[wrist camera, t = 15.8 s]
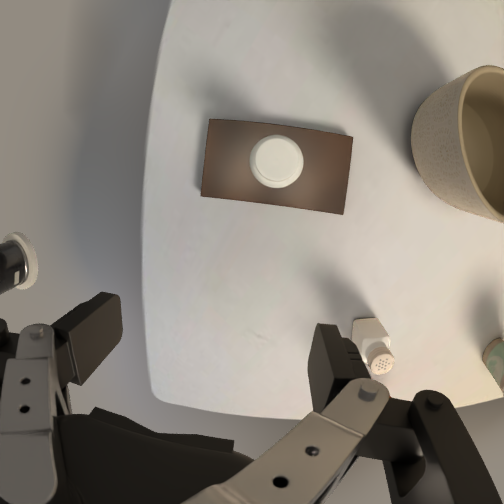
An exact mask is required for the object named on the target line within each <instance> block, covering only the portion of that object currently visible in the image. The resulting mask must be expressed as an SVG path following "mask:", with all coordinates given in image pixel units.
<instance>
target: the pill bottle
mask: <svg viewBox="0 0 504 504" xmlns="http://www.w3.org/2000/svg"><path fill="white" fill-rule="evenodd" d="M250 168H251V171H252V173H253V175H254V176H255V178H256V179H257V180H258V181H259V182H260V183H262V184H263V185H265V186H268V187H271V188H283V187H286V186H288V185H290V184H291V183H293V182H294V181H295V180H296V179H297V178H298V177H299V176H300V174H301V172H302V169H303V155H302V152H301V150H300V148H299V146H298V145H297V144H296V143H295V142H294V141H293V140H291V139H290V138H288V137H285V136H281V135H271V136H267V137H265V138H263V139H261V140H260V141H259V142H258V143H257V144H256V145H255V146H254V147H253V149H252V151H251V155H250Z"/></svg>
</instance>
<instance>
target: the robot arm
mask: <svg viewBox="0 0 504 504" xmlns="http://www.w3.org/2000/svg"><path fill="white" fill-rule="evenodd" d="M28 275H29V264H28V259H27V256H26V253H25V251H24V249H23V247H22V246H21V245H20V244H19V243H18V242H17V241H15V240H9V241H6V242H5V243H2V244H0V294H2V293H4V292H6V291H8V290H10V289H12V288H14V287H16V286H18V285H21V284H23V283H25V282H26V280H27V278H28ZM122 332H123V327H122V315H121V301H120V297H119V296H118V295H116V294H111V293H106V292H100V293H99V294H97V295H96V296H95V297H93V298H92V299H91V300H89V301H87V302H84V303H81V304H79V305H78V306H76V307H75V308H74V309H73V310H71V311H69V312H68V313H67V314H65V315H64V316H63V317H61V318H60V319H58V320H57V321H56V322H54V323H53V324H52V325H50V326H49V325H46V324H33V325H29V326H27V327H25V328H24V329H23V330H22V331H21V332H20V334H17V333H10V332H9V331H8V327H7V323H6V321H5V320H3V319H1V318H0V504H324V503H325V502H326V500H327V499H328V498H329V496H330V495H331V494H332V492H333V491H334V490H335V489H336V487H337V486H338V485H339V483H340V482H341V481H342V479H343V478H344V477H345V476H346V474H347V473H348V472H349V470H350V469H351V468H352V466H353V465H354V463H355V462H356V461H357V459H358V457H359V456H362V457H367V458H372V459H378V460H382V461H383V465H384V470H385V474H386V479H387V483H388V488H389V492H390V498H391V503H392V504H503V503H502V501H501V498H500V496H499V494H498V492H497V489H496V487H495V485H494V483H493V481H492V478H491V476H490V474H489V472H488V470H487V468H486V466H485V464H484V462H483V460H482V458H481V456H480V454H479V452H478V450H477V448H476V446H475V444H474V442H473V441H472V438H471V437H470V435H469V433H468V431H467V429H466V427H465V426H464V424H463V422H462V420H461V418H460V417H459V415H458V413H457V412H456V410H455V408H454V406H453V405H452V403H451V401H450V400H449V399H448V398H447V397H446V396H445V395H443V394H442V393H440V392H437V391H433V390H423V391H420V392H418V393H417V394H416V395H415V397H414V399H413V401H412V402H411V401H405V400H400V399H395V398H391V397H390V394H389V391H388V389H387V388H386V387H385V386H384V385H383V384H381V383H380V382H378V381H375V380H373V379H371V377H370V375H369V372H368V370H367V368H366V366H365V363H364V361H362V357H361V355H360V352H359V350H358V348H357V346H356V344H354V343H353V342H352V341H351V340H350V339H349V338H342V337H341V335H340V332H339V330H338V327H337V325H331V324H319V323H318V324H317V325H316V328H315V332H314V337H313V341H312V346H311V350H310V355H309V359H308V377H309V384H310V390H311V397H312V404H313V411H312V412H310V413H309V414H308V415H307V416H306V417H305V418H304V419H302V420H301V421H300V422H299V423H298V424H297V425H296V426H295V427H294V428H293V429H291V430H290V431H289V432H288V433H287V434H286V435H285V436H284V437H282V438H281V439H280V440H279V441H278V442H276V443H275V444H274V445H273V446H272V447H270V448H269V449H268V450H267V451H266V452H264V453H263V454H262V455H261V456H259V457H258V458H257V459H256V460H254V459H251V458H250V457H248V456H246V455H243V454H241V453H239V452H236V451H233V447H234V440H228V439H221V438H215V437H209V436H203V435H197V434H167V433H157V432H154V431H151V430H150V429H148V428H146V427H143V426H142V425H140V424H138V423H136V422H134V421H132V420H130V419H129V418H127V417H124V416H122V415H118V414H115V413H112V412H109V411H106V410H103V409H100V408H97V407H95V408H94V409H93V410H92V412H91V413H90V414H89V415H85V414H72V409H71V403H70V395H69V389H68V386H67V384H68V383H69V382H72V383H75V384H77V385H80V386H82V384H83V383H84V382H85V381H86V380H87V379H88V378H89V376H90V375H91V374H92V373H93V372H94V371H95V369H96V368H97V367H98V366H99V365H100V364H101V362H102V361H103V360H104V359H105V358H106V357H107V356H108V354H109V353H110V352H111V351H112V350H113V349H114V348H115V346H116V345H117V344H118V343H119V342H120V340H121V337H122Z"/></svg>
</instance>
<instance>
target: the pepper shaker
mask: <svg viewBox="0 0 504 504" xmlns="http://www.w3.org/2000/svg"><path fill="white" fill-rule="evenodd" d="M351 341H352V342H353V343H354V344H356V346H357V348H358V350H359V352H360V355H361V357H362V361H364V363H368V365H369V367H370V369H371V371H372V372H373V373H374V374H380V375H381V374H384V373H386V372H388V371H389V370H390V369H391V368H392V366H393V364H394V357H393V355H392V353H391V352H390V350H389V347H390V337H389V335H388V333H387V332H386V330H385V329H384V327H383V326H382V324H381V323H380V321H379V320H378V319H377V318H367V319H356V320H354V322H353V329H352V339H351Z"/></svg>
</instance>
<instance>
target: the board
mask: <svg viewBox="0 0 504 504" xmlns="http://www.w3.org/2000/svg"><path fill="white" fill-rule="evenodd" d="M271 135H281V136H285V137H288V138H290V139H291V140H293V141H294V142H295V143H296V144H297V145H298V146H299V148H300V150H301V152H302V155H303V169H302V172H301V174H300V176H299V177H298V178H297V179H296V180H295V181H294V182H293V183H291V184H290V185H288V186H286V187H283V188H271V187H268V186H265V185H263V184H262V183H260V182H259V181H258V180H257V179H256V178H255V176H254V175H253V173H252V171H251V168H250V155H251V151H252V149H253V147H254V146H255V145H256V144H257V143H258V142H259V141H260V140H261V139H263V138H265V137H267V136H271ZM352 144H353V137H351V136H346V135H340V134H335V133H330V132H324V131H318V130H312V129H306V128H299V127H292V126H285V125H277V124H268V123H259V122H249V121H237V120H223V119H209V126H208V134H207V142H206V150H205V159H204V168H203V177H202V186H201V196H202V197H212V198H221V199H230V200H239V201H247V202H256V203H264V204H271V205H279V206H286V207H294V208H301V209H308V210H314V211H321V212H328V213H334V214H340V215H343V213H344V206H345V200H346V193H347V185H348V178H349V170H350V162H351V153H352Z"/></svg>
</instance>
